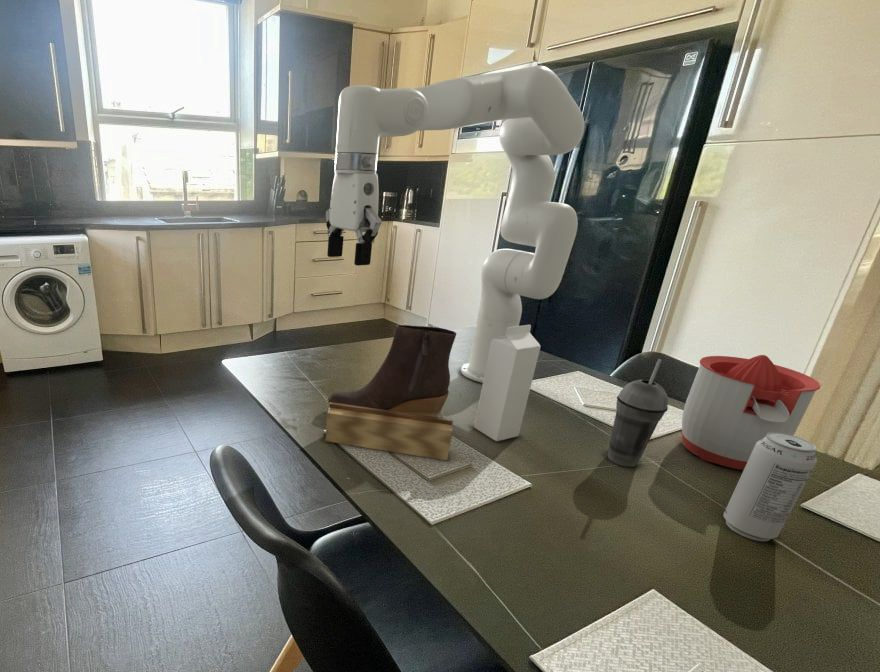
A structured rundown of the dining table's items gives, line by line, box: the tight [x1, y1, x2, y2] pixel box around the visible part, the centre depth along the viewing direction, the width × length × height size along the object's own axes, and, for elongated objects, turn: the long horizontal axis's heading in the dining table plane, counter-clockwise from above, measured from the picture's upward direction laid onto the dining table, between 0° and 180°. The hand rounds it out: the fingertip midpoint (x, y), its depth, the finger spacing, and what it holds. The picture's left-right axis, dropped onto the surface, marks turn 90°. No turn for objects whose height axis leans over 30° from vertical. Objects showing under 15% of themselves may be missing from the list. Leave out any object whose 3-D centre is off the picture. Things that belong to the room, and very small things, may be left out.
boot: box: [326, 324, 457, 417], centre depth 98 cm, size 9×24×20 cm, turn 84°
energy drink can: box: [723, 432, 818, 542], centre depth 68 cm, size 6×6×15 cm
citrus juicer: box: [680, 354, 821, 471], centre depth 86 cm, size 16×17×20 cm
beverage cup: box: [607, 358, 669, 468], centre depth 84 cm, size 7×7×20 cm
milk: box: [473, 324, 541, 442], centre depth 92 cm, size 6×6×22 cm
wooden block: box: [324, 402, 454, 461], centre depth 89 cm, size 22×3×7 cm, turn 75°
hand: (347, 260), depth 94 cm, fingers open, 9 cm apart
